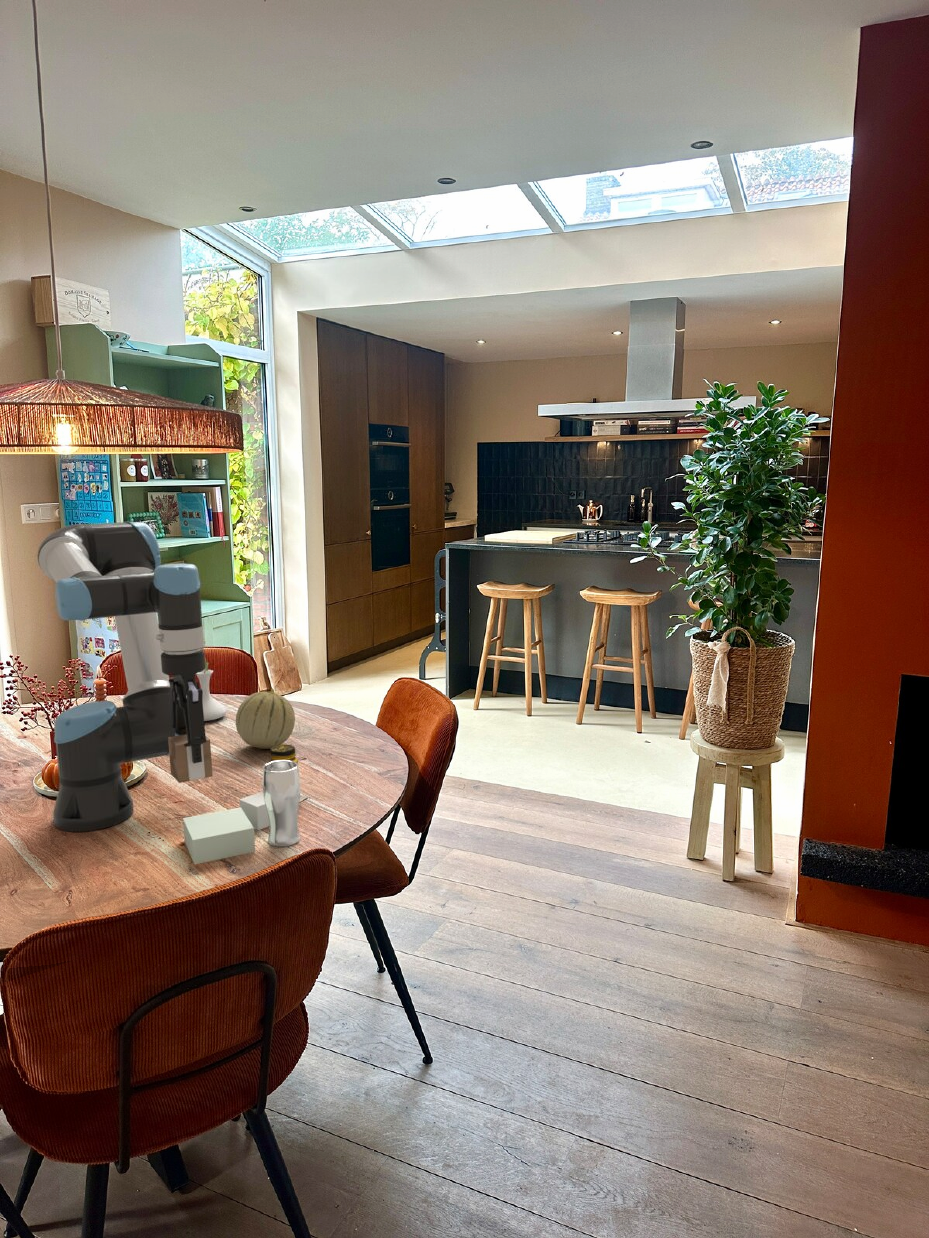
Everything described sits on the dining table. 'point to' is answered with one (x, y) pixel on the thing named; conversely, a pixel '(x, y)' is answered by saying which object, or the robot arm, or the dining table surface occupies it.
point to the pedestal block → (218, 835)
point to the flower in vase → (210, 705)
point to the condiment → (284, 757)
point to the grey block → (255, 810)
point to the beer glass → (282, 801)
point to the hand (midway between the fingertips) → (191, 773)
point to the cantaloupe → (265, 720)
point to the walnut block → (180, 758)
